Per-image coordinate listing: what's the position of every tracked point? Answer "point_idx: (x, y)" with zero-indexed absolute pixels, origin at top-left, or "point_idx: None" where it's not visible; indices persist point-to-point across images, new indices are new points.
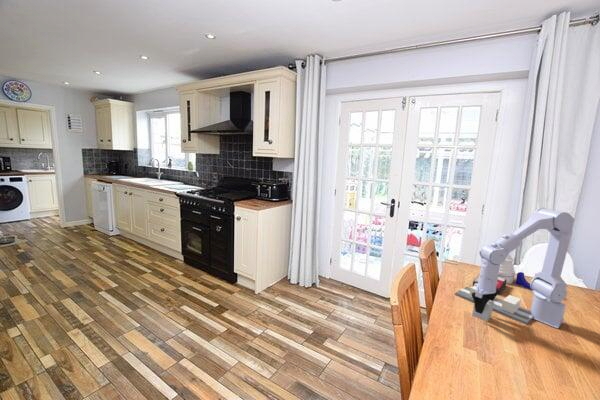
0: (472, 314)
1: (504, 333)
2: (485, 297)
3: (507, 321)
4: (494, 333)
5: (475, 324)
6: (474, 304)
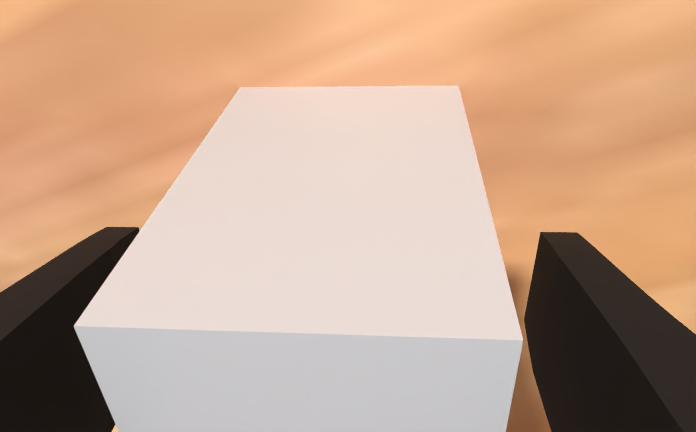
0: (238, 95)
1: None
2: (626, 425)
3: (538, 399)
4: None
5: (34, 217)
6: (161, 216)
